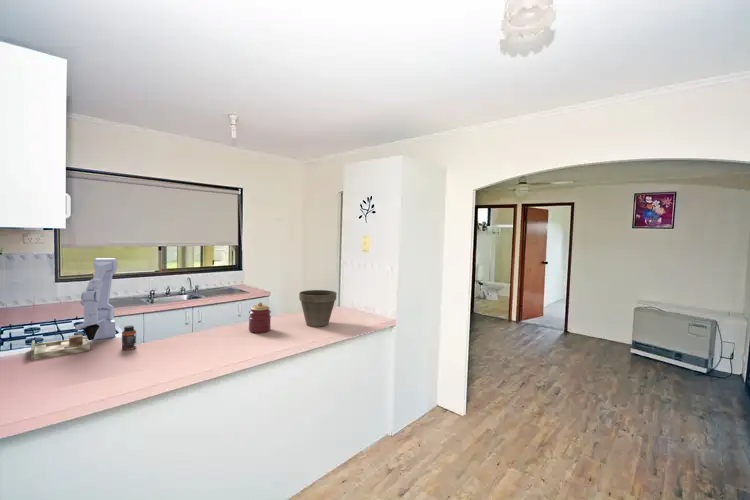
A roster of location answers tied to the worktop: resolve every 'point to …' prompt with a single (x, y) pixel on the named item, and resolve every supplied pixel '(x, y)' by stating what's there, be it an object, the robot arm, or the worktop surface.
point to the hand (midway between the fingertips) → (91, 339)
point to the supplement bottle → (128, 338)
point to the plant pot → (317, 306)
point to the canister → (259, 318)
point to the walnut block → (75, 340)
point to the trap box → (57, 348)
